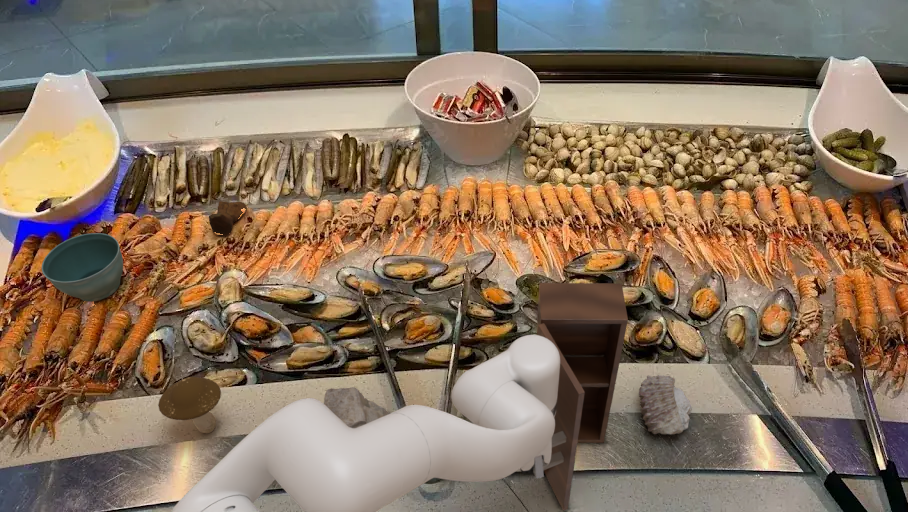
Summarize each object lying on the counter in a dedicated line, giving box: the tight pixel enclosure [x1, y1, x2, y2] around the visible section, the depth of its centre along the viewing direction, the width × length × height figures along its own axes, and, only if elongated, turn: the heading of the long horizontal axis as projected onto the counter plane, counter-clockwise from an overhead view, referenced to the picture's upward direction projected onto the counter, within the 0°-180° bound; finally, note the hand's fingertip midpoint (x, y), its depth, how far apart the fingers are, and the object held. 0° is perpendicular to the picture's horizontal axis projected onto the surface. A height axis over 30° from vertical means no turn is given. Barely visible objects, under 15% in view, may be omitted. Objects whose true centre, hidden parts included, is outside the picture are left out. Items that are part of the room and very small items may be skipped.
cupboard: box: [536, 282, 629, 444], centre depth 122 cm, size 8×14×38 cm, turn 90°
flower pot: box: [41, 232, 124, 303], centre depth 158 cm, size 16×16×11 cm
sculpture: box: [208, 200, 248, 238], centre depth 176 cm, size 8×10×15 cm
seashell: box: [638, 374, 693, 435], centre depth 135 cm, size 14×9×10 cm
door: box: [538, 323, 585, 512], centre depth 113 cm, size 7×14×38 cm, turn 23°
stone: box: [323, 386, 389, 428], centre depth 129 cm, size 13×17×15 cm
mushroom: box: [157, 376, 222, 434], centre depth 129 cm, size 9×11×15 cm
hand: (528, 463), depth 110 cm, fingers closed
